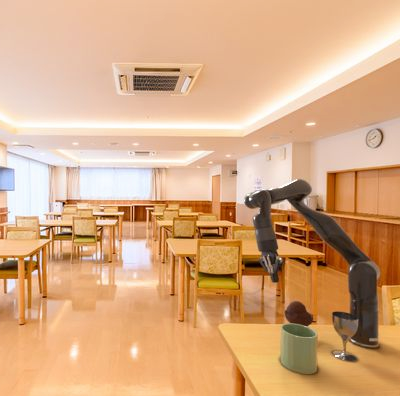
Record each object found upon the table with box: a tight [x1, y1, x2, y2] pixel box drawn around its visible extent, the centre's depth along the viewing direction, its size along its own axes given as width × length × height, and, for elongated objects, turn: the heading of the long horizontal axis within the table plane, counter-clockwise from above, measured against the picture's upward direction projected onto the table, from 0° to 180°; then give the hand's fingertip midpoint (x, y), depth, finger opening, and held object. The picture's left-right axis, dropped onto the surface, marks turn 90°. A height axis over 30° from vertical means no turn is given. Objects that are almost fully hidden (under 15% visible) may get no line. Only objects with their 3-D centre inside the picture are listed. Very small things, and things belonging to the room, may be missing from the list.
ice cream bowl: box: [283, 300, 314, 327], centre depth 122 cm, size 11×11×15 cm
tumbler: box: [279, 322, 318, 375], centre depth 101 cm, size 11×11×12 cm
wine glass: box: [331, 310, 358, 362], centre depth 107 cm, size 8×8×15 cm
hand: (275, 282), depth 115 cm, fingers closed
